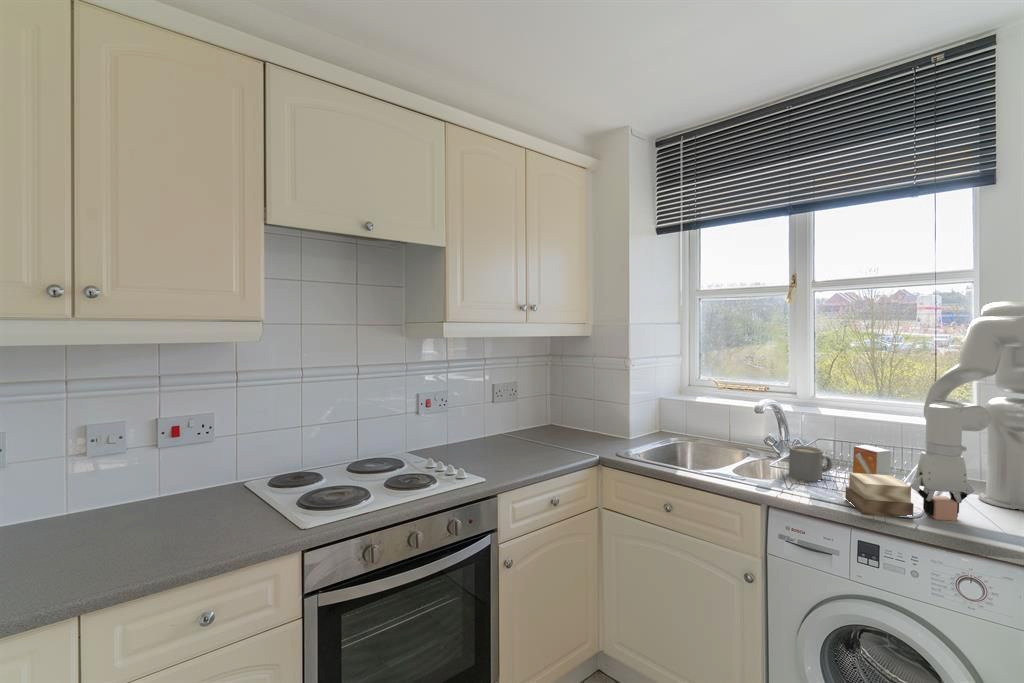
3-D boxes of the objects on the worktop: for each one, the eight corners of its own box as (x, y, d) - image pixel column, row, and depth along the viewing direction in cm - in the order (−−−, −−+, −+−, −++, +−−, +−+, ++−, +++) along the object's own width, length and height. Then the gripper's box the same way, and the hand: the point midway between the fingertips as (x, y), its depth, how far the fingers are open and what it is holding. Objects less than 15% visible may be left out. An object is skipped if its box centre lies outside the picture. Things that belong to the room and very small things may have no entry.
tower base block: (890, 504, 150) (890, 489, 150) (912, 520, 139) (913, 503, 138) (845, 501, 153) (845, 486, 153) (863, 516, 141) (864, 500, 141)
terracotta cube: (945, 514, 142) (946, 496, 141) (956, 520, 137) (957, 502, 136) (924, 512, 143) (925, 495, 142) (935, 519, 138) (936, 501, 138)
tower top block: (891, 490, 149) (891, 475, 149) (910, 503, 139) (911, 486, 139) (849, 487, 152) (849, 472, 152) (865, 499, 141) (865, 483, 141)
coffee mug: (792, 480, 172) (792, 451, 172) (786, 472, 181) (786, 444, 181) (837, 484, 168) (838, 454, 167) (828, 475, 177) (829, 447, 177)
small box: (851, 484, 167) (853, 445, 167) (866, 482, 169) (867, 444, 169) (875, 492, 160) (877, 451, 159) (890, 490, 162) (891, 450, 161)
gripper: (970, 447, 141) (967, 512, 141) (900, 444, 144) (898, 507, 145) (989, 454, 133) (986, 522, 134) (914, 451, 137) (912, 517, 138)
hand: (940, 514), depth 140 cm, fingers closed on terracotta cube, 5 cm apart
